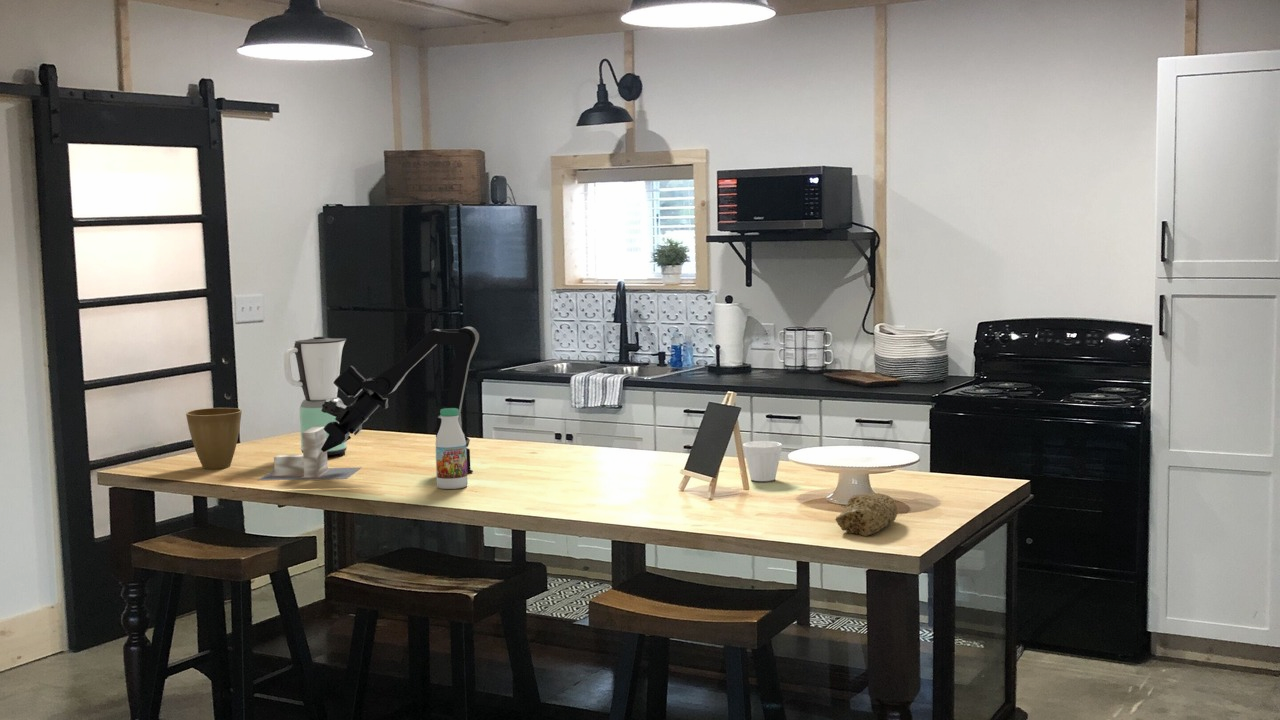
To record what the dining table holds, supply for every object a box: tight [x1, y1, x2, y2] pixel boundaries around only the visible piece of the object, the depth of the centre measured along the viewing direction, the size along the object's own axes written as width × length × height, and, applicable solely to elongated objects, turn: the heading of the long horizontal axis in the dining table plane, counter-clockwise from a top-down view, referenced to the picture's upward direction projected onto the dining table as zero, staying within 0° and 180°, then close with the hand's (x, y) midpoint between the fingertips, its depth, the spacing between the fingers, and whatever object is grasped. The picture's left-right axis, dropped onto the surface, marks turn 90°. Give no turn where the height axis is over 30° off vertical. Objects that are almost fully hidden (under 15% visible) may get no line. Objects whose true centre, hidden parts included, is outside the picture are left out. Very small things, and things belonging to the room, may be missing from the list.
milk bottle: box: [435, 407, 469, 490], centre depth 320 cm, size 8×8×20 cm
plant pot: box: [185, 407, 242, 470], centre depth 357 cm, size 15×15×16 cm
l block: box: [273, 427, 329, 477], centre depth 341 cm, size 12×10×12 cm
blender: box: [283, 336, 351, 457], centre depth 371 cm, size 19×13×35 cm
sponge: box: [834, 492, 898, 537], centre depth 267 cm, size 13×8×20 cm
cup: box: [742, 440, 783, 483], centre depth 319 cm, size 10×10×9 cm
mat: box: [257, 467, 362, 481], centre depth 341 cm, size 24×16×1 cm, turn 88°
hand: (322, 450), depth 341 cm, fingers closed
